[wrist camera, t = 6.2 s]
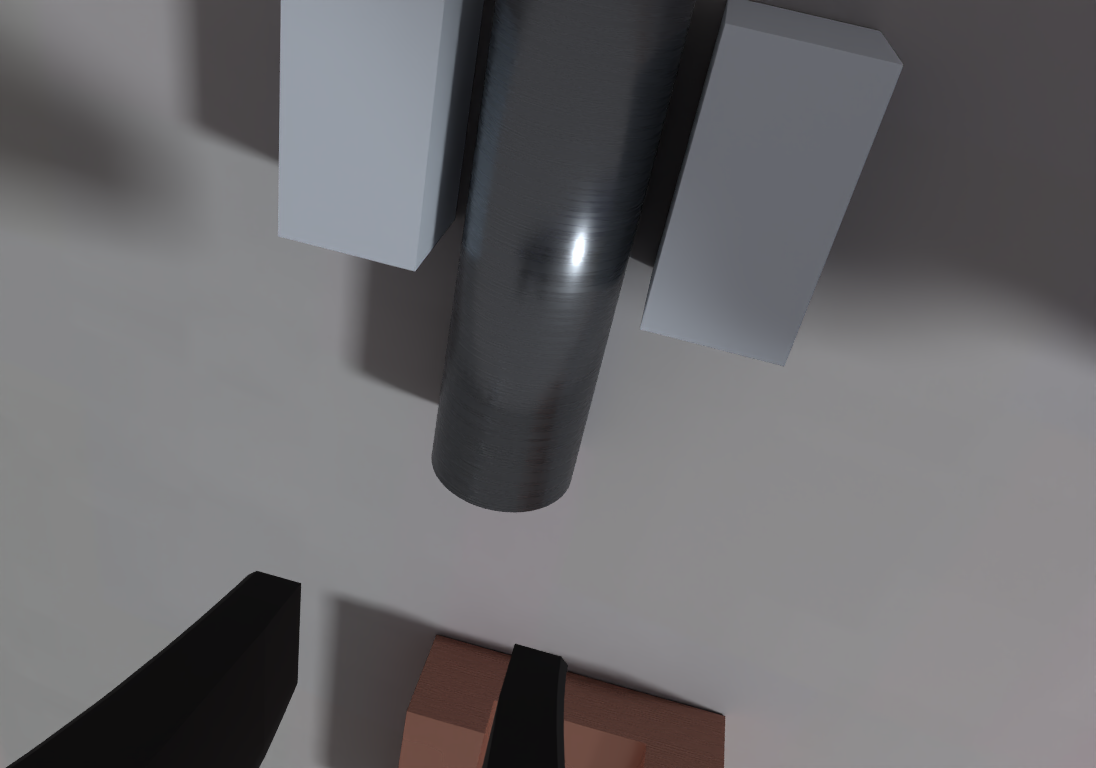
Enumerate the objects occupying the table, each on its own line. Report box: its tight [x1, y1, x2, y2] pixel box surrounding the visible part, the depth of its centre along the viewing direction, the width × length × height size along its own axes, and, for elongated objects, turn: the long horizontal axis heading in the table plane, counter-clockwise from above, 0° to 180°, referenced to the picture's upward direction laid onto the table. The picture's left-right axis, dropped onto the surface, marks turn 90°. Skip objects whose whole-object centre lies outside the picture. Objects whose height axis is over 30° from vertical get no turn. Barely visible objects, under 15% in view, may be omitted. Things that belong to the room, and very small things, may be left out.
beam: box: [278, 0, 903, 366], centre depth 15 cm, size 9×5×2 cm, turn 80°
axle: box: [432, 0, 696, 512], centre depth 16 cm, size 10×3×3 cm, turn 169°
